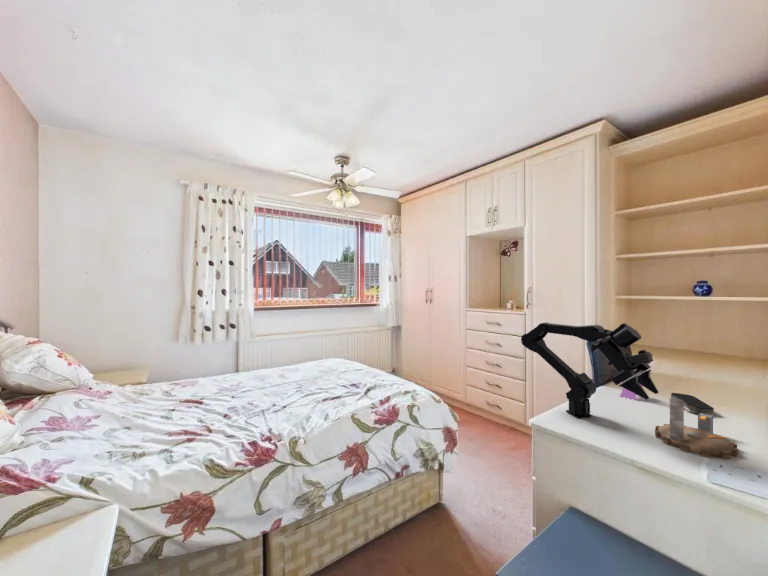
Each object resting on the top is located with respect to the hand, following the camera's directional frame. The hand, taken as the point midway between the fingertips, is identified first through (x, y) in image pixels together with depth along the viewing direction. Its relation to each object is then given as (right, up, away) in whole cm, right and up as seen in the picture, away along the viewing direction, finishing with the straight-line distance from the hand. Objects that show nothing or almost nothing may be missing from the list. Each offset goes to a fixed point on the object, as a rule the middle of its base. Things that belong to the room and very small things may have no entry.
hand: (652, 396), depth 105 cm
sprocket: (+10, -13, -4) cm, 17 cm away
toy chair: (+23, -13, +38) cm, 46 cm away
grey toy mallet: (+19, -13, +2) cm, 23 cm away
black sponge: (+37, -14, +25) cm, 46 cm away
